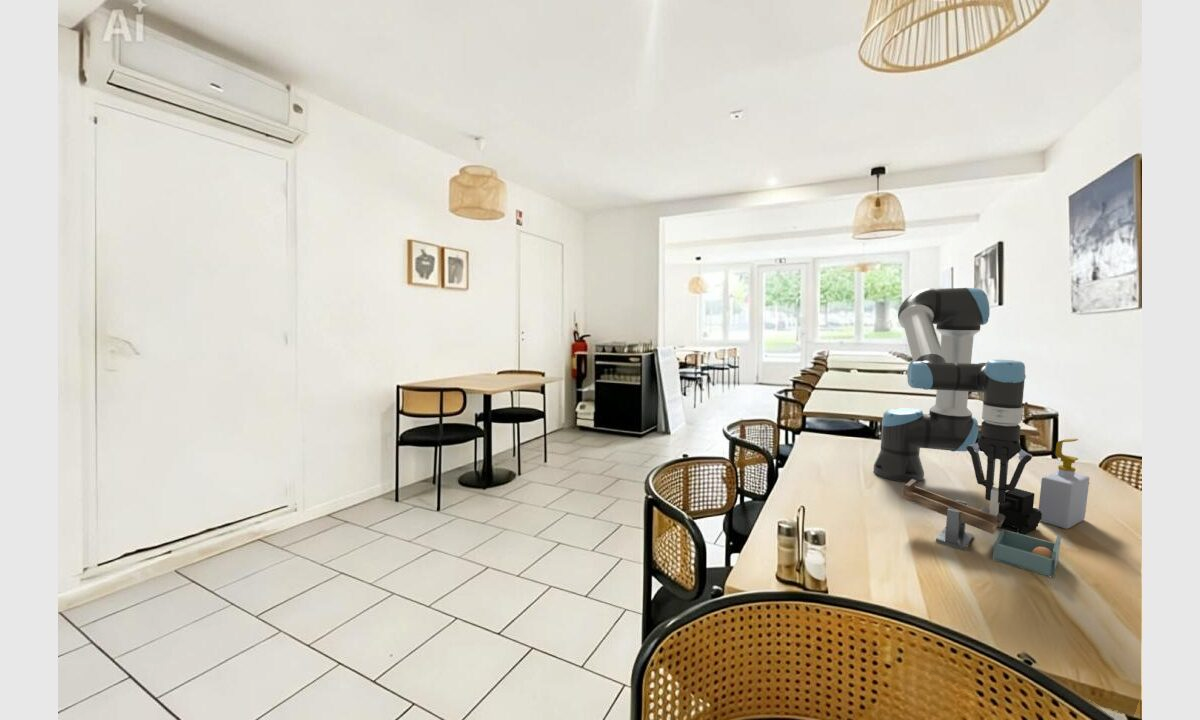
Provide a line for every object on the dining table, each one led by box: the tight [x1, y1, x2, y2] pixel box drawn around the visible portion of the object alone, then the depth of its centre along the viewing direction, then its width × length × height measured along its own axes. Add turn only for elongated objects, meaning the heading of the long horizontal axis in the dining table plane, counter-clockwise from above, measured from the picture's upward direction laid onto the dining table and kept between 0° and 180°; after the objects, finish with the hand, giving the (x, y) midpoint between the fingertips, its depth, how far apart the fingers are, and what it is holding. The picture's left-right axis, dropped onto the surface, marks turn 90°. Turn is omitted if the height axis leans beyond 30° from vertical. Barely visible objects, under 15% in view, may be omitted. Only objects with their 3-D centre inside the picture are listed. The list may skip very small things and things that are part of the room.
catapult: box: [900, 479, 1005, 535], centre depth 127 cm, size 20×12×4 cm, turn 44°
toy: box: [997, 487, 1042, 535], centre depth 130 cm, size 8×14×10 cm, turn 117°
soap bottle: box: [1038, 438, 1090, 529], centre depth 134 cm, size 12×7×23 cm, turn 119°
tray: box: [992, 528, 1062, 578], centre depth 115 cm, size 11×11×6 cm
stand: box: [935, 499, 975, 552], centre depth 125 cm, size 6×10×9 cm, turn 133°
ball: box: [1032, 547, 1052, 559], centre depth 113 cm, size 4×4×4 cm
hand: (993, 513), depth 124 cm, fingers closed
